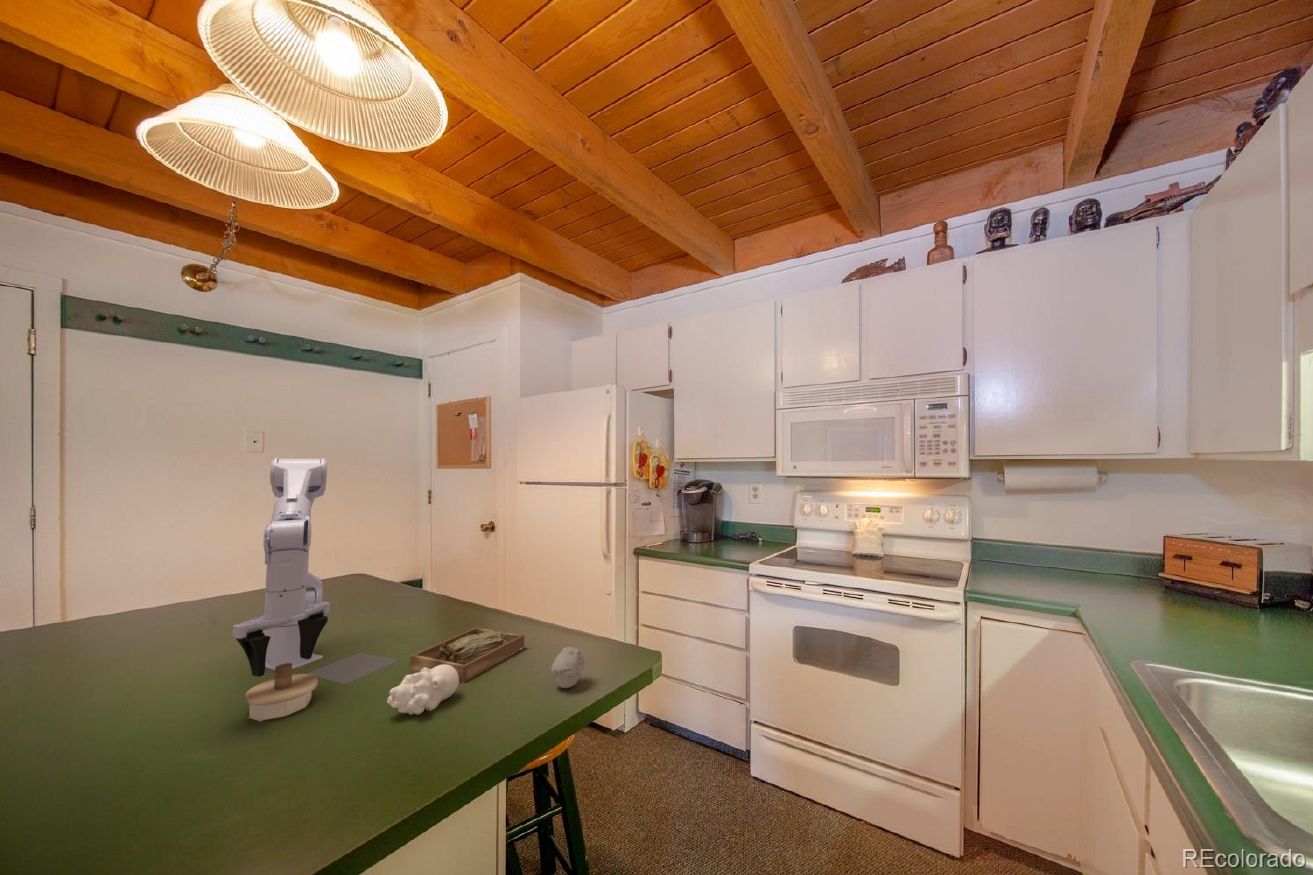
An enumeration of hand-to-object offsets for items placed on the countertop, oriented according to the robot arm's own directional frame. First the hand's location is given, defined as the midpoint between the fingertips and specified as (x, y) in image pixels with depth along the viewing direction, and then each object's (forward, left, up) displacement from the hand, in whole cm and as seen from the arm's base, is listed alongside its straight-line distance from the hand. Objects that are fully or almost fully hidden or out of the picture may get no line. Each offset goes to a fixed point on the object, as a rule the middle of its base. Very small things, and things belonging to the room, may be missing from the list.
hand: (283, 666), depth 84 cm
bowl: (0, 0, -7) cm, 7 cm away
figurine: (+23, +10, -8) cm, 26 cm away
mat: (-4, +16, -7) cm, 18 cm away
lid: (0, 0, -4) cm, 4 cm away
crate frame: (+15, +29, -7) cm, 33 cm away
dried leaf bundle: (+16, +29, -8) cm, 34 cm away
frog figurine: (+42, +26, -7) cm, 50 cm away
